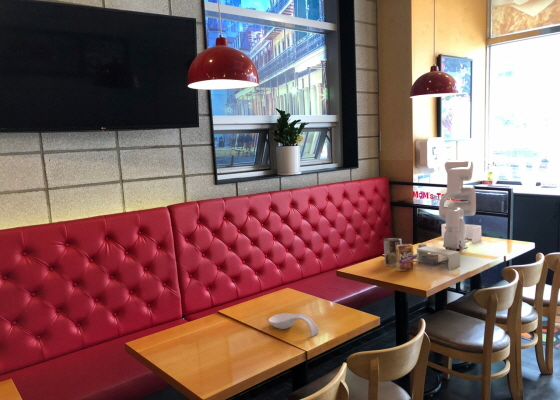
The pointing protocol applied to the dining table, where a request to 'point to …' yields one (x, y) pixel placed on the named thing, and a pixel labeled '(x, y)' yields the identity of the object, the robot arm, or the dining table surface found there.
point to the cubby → (452, 255)
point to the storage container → (468, 232)
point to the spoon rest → (292, 321)
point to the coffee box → (390, 251)
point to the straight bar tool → (418, 247)
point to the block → (433, 256)
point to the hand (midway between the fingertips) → (453, 258)
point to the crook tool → (434, 260)
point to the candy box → (404, 257)
